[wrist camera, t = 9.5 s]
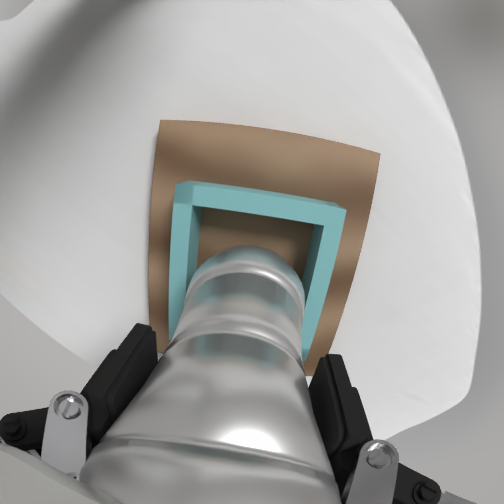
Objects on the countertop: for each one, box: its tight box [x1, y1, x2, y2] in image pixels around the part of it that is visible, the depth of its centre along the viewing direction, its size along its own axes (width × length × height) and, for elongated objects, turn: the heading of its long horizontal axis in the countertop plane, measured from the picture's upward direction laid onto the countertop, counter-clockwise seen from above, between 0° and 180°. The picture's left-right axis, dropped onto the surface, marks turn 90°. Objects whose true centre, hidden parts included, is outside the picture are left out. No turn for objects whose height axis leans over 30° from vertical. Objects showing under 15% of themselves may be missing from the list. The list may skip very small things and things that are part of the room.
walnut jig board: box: [148, 120, 380, 376], centre depth 20 cm, size 20×16×4 cm
